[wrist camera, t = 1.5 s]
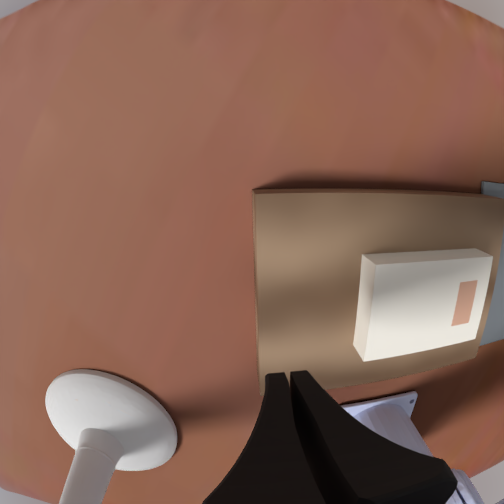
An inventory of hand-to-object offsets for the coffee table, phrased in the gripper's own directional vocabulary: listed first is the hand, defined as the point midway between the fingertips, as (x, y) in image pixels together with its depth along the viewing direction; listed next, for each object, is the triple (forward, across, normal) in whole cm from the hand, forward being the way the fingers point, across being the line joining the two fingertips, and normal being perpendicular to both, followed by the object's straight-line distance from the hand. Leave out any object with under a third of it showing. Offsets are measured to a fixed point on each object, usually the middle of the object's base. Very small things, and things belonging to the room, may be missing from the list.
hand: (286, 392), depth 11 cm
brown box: (+10, -8, 0) cm, 13 cm away
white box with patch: (+6, -10, 0) cm, 12 cm away
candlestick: (+11, +14, +13) cm, 22 cm away
